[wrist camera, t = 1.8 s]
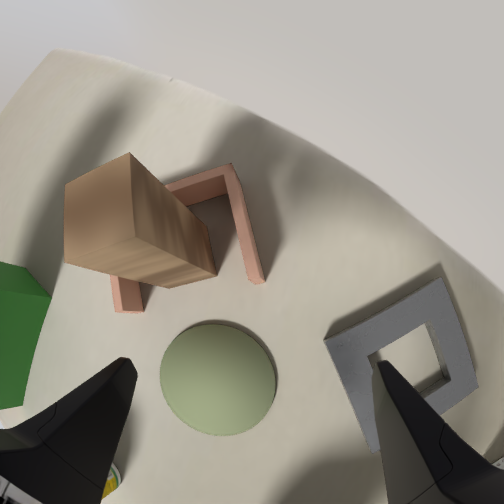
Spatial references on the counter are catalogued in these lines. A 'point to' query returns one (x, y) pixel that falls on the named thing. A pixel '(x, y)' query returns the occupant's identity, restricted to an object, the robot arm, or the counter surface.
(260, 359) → the olive mat
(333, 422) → the counter surface
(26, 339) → the hardback book
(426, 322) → the hole plate
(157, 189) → the walnut block
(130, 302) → the terracotta cubby
